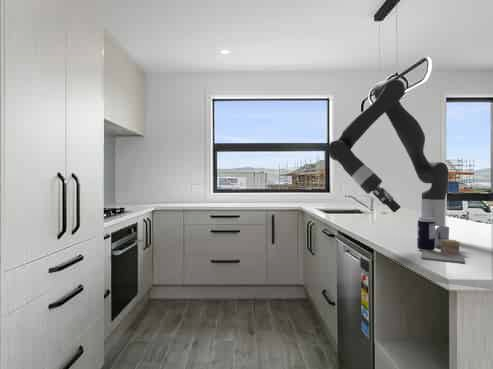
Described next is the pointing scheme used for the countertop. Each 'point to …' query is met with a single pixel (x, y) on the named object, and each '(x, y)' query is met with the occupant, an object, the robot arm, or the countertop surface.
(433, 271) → the countertop surface
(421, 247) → the beverage can
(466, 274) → the countertop surface
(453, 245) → the walnut block
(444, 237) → the grey tin
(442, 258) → the mat
